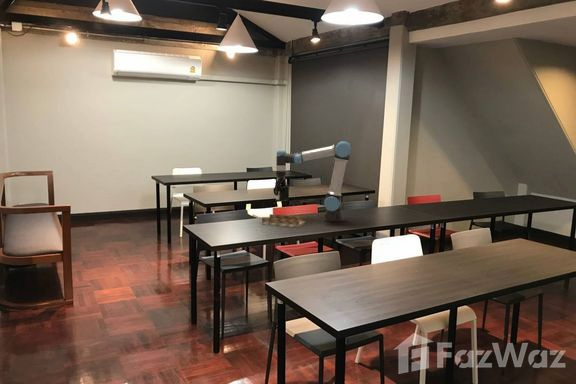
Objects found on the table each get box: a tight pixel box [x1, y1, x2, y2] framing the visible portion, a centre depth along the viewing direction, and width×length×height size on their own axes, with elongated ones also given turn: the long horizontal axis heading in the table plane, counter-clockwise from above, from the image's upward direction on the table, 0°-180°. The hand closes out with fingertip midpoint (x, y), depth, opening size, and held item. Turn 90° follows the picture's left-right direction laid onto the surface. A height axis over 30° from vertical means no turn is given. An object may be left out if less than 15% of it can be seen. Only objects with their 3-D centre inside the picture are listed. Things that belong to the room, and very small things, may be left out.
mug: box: [272, 184, 290, 202], centre depth 369 cm, size 11×15×12 cm
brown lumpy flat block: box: [261, 213, 306, 228], centre depth 363 cm, size 30×16×5 cm, turn 68°
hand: (280, 198), depth 369 cm, fingers closed on mug, 10 cm apart
